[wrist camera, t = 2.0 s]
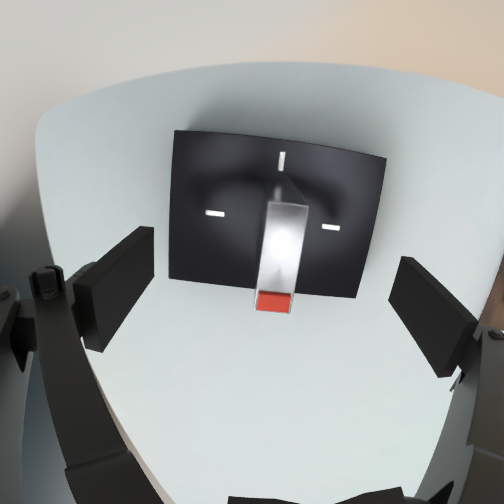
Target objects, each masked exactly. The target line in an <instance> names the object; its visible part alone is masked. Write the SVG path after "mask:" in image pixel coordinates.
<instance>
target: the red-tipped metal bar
mask: <svg viewBox="0 0 504 504" xmlns="http://www.w3.org/2000/svg"><path fill="white" fill-rule="evenodd" d="M308 212H309V205H308V204H307V202H306V201H305V199H304V198H303V197H302V195H301V194H300V192H299V191H298V189H297V188H296V186H295V185H294V183H293V182H289V181H281V180H273V179H265V186H264V194H263V203H262V211H261V219H260V227H259V235H258V244H257V252H256V269H255V292H254V310H258V311H268V312H278V313H290V311H291V306H292V301H293V296H294V291H295V285H296V280H297V275H298V270H299V264H300V259H301V253H302V247H303V242H304V236H305V230H306V224H307V218H308Z"/></svg>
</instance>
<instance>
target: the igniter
mask: <svg viewBox="0 0 504 504" xmlns="http://www.w3.org/2000/svg"><path fill="white" fill-rule="evenodd" d="M479 323H480V324H481V325H482V326H483V327H485V326H491V327H495V328H497V329H499V330H500V331H503V330H504V256H503V259H502V263H501V265H500V268H499V271H498V274H497V277H496V280H495V282H494V285H493V288H492V290H491V293H490V295H489V298H488V300H487V303H486V305H485V307H484V310H483V312H482V314H481V317H480V319H479Z"/></svg>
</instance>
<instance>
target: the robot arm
mask: <svg viewBox="0 0 504 504" xmlns="http://www.w3.org/2000/svg"><path fill="white" fill-rule="evenodd" d="M153 277H154V227H146V226H139V227H138V228H137V229H136V230H134V231H133V232H132V233H131V234H129V235H128V236H127V237H126V238H124V239H123V240H122V241H121V242H120V243H118V244H117V245H116V246H115V247H113V248H112V249H111V250H110V251H109V252H108V253H106V254H105V255H104V256H103V257H102V258H100V259H99V260H98V261H97V262H91V263H89V264H87V265H84V266H83V267H82V268H80V269H79V270H78V272H76V273H75V274H73V276H71V277H70V278H69V279H68V280H66V281H64V275H63V269H62V268H61V267H59V266H57V265H44V266H40V267H37V268H35V269H33V270H32V271H31V272H30V273H29V281H30V286H31V290H32V295H33V299H31V298H19V294H18V290H17V289H16V287H13V286H0V504H23V495H22V439H23V424H24V412H25V404H26V395H27V388H28V381H29V375H30V369H31V364H32V358H33V353H34V352H39V358H40V365H41V370H42V376H43V381H44V386H45V391H46V396H47V400H48V404H49V408H50V412H51V416H52V420H53V423H54V427H55V430H56V434H57V437H58V441H59V444H60V447H61V450H62V453H63V456H64V459H65V462H66V466H67V468H66V469H65V475H66V478H67V481H68V484H69V487H70V489H71V491H72V494H73V496H74V499H75V501H76V503H77V504H164V503H163V501H162V500H161V498H160V497H159V495H158V494H157V493H156V491H155V489H154V488H153V486H152V485H151V483H150V482H149V480H148V478H147V477H146V475H145V474H144V472H143V470H142V469H141V467H140V465H139V463H138V462H137V460H136V459H135V457H134V455H133V454H132V452H131V451H130V450H128V448H127V446H126V445H125V443H124V441H123V439H122V437H121V435H120V434H119V431H118V429H117V427H116V425H115V423H114V421H113V419H112V417H111V415H110V413H109V411H108V408H107V406H106V404H105V402H104V399H103V397H102V395H101V393H100V390H99V388H98V386H97V383H96V380H95V378H94V375H93V373H92V370H91V368H90V365H89V362H88V360H87V357H86V354H85V351H84V349H83V346H82V343H81V340H80V338H81V337H83V341H84V345H85V348H86V349H90V350H94V351H97V352H101V353H103V351H104V350H105V348H106V347H107V345H108V343H109V342H110V340H111V339H112V337H113V336H114V334H115V333H116V331H117V330H118V328H119V327H120V325H121V324H122V322H123V321H124V319H125V318H126V316H127V315H128V313H129V312H130V310H131V309H132V307H133V306H134V305H135V303H136V302H137V300H138V299H139V297H140V296H141V294H142V293H143V292H144V290H145V289H146V287H147V286H148V284H149V283H150V282H151V280H152V279H153ZM388 301H389V303H390V304H391V305H392V307H393V308H394V310H395V311H396V313H397V314H398V316H399V317H400V319H401V320H402V322H403V323H404V325H405V326H406V328H407V329H408V331H409V332H410V334H411V335H412V337H413V338H414V340H415V341H416V343H417V345H418V346H419V348H420V349H421V351H422V352H423V354H424V356H425V357H426V359H427V360H428V362H429V364H430V365H431V367H432V368H433V370H434V372H435V373H436V375H437V377H438V378H442V377H451V376H452V374H453V372H454V371H455V369H456V367H457V365H458V366H459V367H460V369H461V370H462V371H461V372H460V374H459V376H458V377H457V379H456V381H455V382H454V384H453V386H452V387H451V389H450V391H451V392H452V390H453V389H454V393H453V396H452V400H451V404H450V407H449V410H448V414H447V417H446V420H445V423H444V426H443V429H442V432H441V435H440V438H439V441H438V443H437V446H436V449H435V451H434V454H433V457H432V459H431V462H430V464H429V466H428V469H427V471H426V473H425V476H424V478H423V480H422V482H421V484H420V487H419V489H418V491H417V493H416V495H415V496H414V497H406V496H404V495H403V491H402V488H401V487H396V488H391V489H386V490H380V491H375V492H368V493H364V494H361V495H358V496H356V497H353V498H350V499H347V500H345V501H342V502H339V503H336V504H504V333H503V332H501V331H500V330H499V329H497V328H495V327H491V326H485V327H483V326H482V325H481V324H480V323H479V321H478V320H477V319H476V318H475V317H474V316H473V315H472V314H471V313H470V312H469V311H468V310H467V309H466V308H465V307H464V306H463V305H462V304H461V303H460V302H459V301H458V300H457V299H456V298H455V297H454V296H453V295H452V294H451V293H450V292H449V291H448V290H447V289H446V288H445V287H444V286H443V285H442V284H441V283H440V282H439V281H438V280H437V279H436V278H435V277H434V276H433V275H431V274H430V273H429V272H428V271H427V270H426V269H425V268H424V267H423V266H422V265H421V264H420V263H418V262H417V261H416V260H415V259H414V258H413V257H405V256H401V260H400V263H399V267H398V270H397V274H396V277H395V280H394V284H393V287H392V290H391V293H390V296H389V299H388ZM227 504H299V503H293V502H288V501H283V500H279V499H265V498H245V497H232V496H229V497H228V503H227Z"/></svg>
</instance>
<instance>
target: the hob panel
mask: <svg viewBox="0 0 504 504" xmlns="http://www.w3.org/2000/svg"><path fill="white" fill-rule="evenodd" d="M386 161H387V158H383V157H379V156H374V155H370V154H365V153H360V152H355V151H350V150H345V149H340V148H335V147H329V146H323V145H317V144H311V143H305V142H298V141H291V140H284V139H276V138H268V137H260V136H250V135H240V134H229V133H217V132H202V131H182V130H175V131H174V142H173V155H172V170H171V187H170V211H169V279H177V280H184V281H192V282H200V283H208V284H216V285H225V286H233V287H242V288H251V289H255V269H256V252H257V244H258V235H259V227H260V219H261V211H262V203H263V194H264V186H265V179H273V180H281V181H289V182H293V183H294V185H295V186H296V188H297V189H298V191H299V192H300V194H301V195H302V197H303V198H304V199H305V201H306V202H307V204H308V205H309V212H308V218H307V224H306V230H305V236H304V242H303V247H302V253H301V259H300V264H299V270H298V275H297V280H296V285H295V291H294V293H300V294H310V295H321V296H333V297H345V298H356V295H357V292H358V288H359V285H360V281H361V277H362V274H363V270H364V266H365V262H366V258H367V254H368V250H369V246H370V242H371V238H372V233H373V229H374V224H375V220H376V215H377V210H378V205H379V200H380V195H381V190H382V184H383V179H384V173H385V167H386Z"/></svg>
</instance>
